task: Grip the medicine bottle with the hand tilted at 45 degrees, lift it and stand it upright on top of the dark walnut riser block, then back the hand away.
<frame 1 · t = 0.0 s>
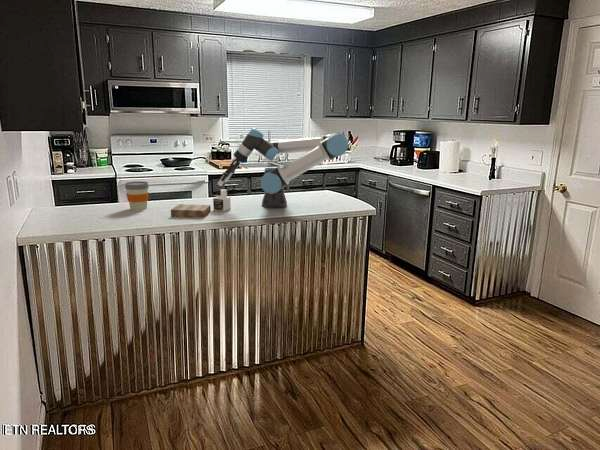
hand: (221, 183, 252), 15 cm above the countertop, tool tilted 35°, fingers open, 13 cm apart
reusable coffee cup: (138, 209, 254), on the countertop
walnut riser: (191, 214, 242), on the countertop
medicine bottle: (222, 209, 255), on the countertop
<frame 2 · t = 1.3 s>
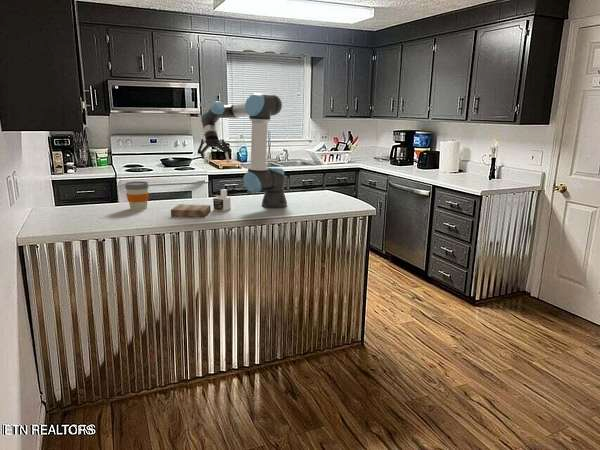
hand: (217, 162, 259), 26 cm above the countertop, tool tilted 45°, fingers open, 13 cm apart
nothing on the countertop moved.
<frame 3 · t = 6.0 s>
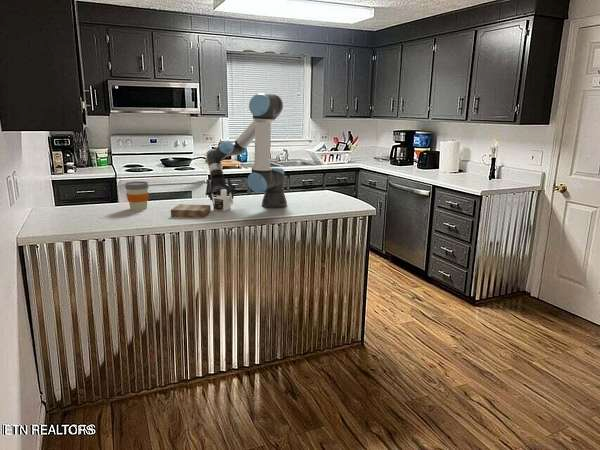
hand: (223, 203, 251), 4 cm above the countertop, tool tilted 45°, fingers closed on medicine bottle, 10 cm apart
medicine bottle: (222, 209, 255), on the countertop, touching gripper
everything else where it was.
when the fingers open (9 cm above the countertop, at t = 12.9 s): medicine bottle drops 1 cm, resting on walnut riser.
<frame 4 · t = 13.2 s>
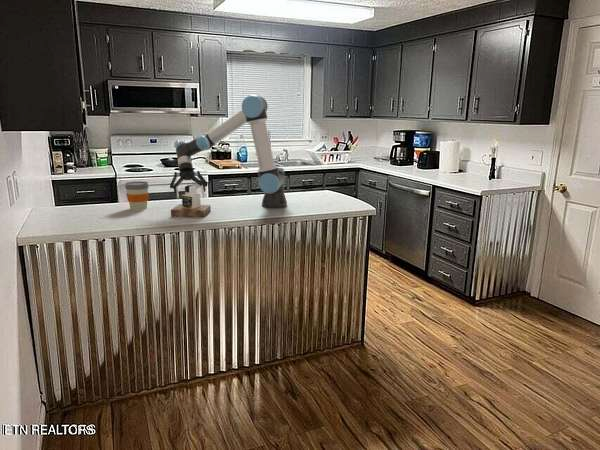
hand: (191, 197, 237), 10 cm above the countertop, tool tilted 45°, fingers open, 13 cm apart
medicine bottle: (191, 207, 241), point 4 cm above the countertop, touching walnut riser
everything else where it was.
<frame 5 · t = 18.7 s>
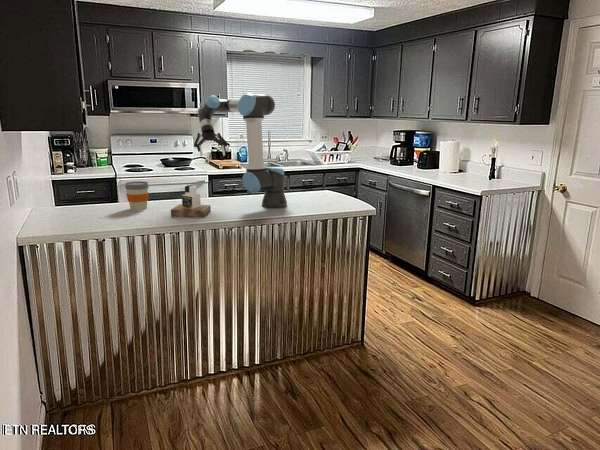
hand: (213, 155, 263), 30 cm above the countertop, tool tilted 45°, fingers open, 13 cm apart
nothing on the countertop moved.
at the end: medicine bottle inside the target area on the walnut riser (0.4 cm from its centre), point 3.8 cm above the walnut riser's base; medicine bottle tilted 0°; the gripper is holding nothing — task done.
